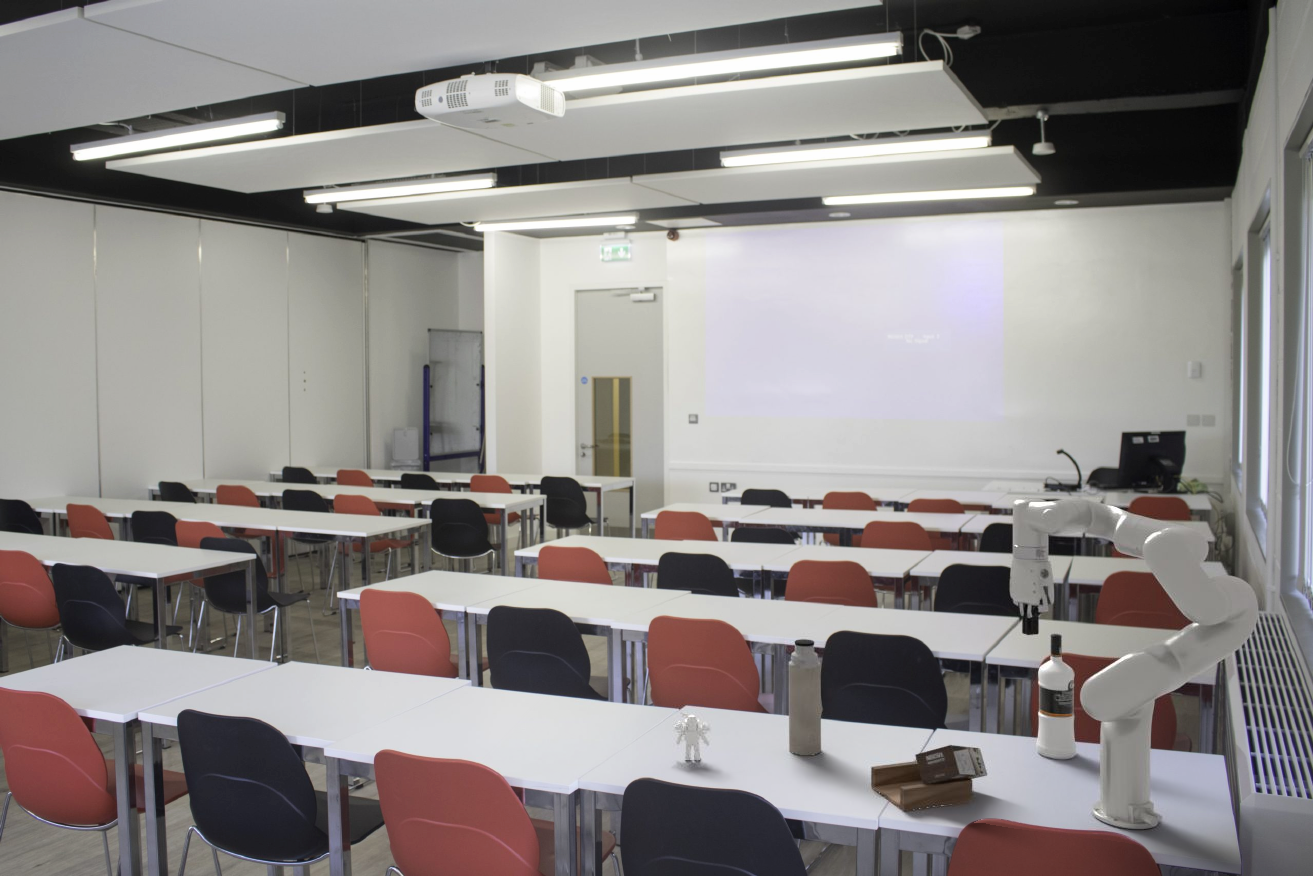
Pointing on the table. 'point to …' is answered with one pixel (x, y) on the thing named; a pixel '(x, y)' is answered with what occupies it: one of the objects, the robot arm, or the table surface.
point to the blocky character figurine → (692, 735)
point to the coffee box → (950, 764)
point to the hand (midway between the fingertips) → (1030, 633)
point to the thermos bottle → (804, 699)
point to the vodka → (1056, 706)
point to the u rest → (917, 787)
